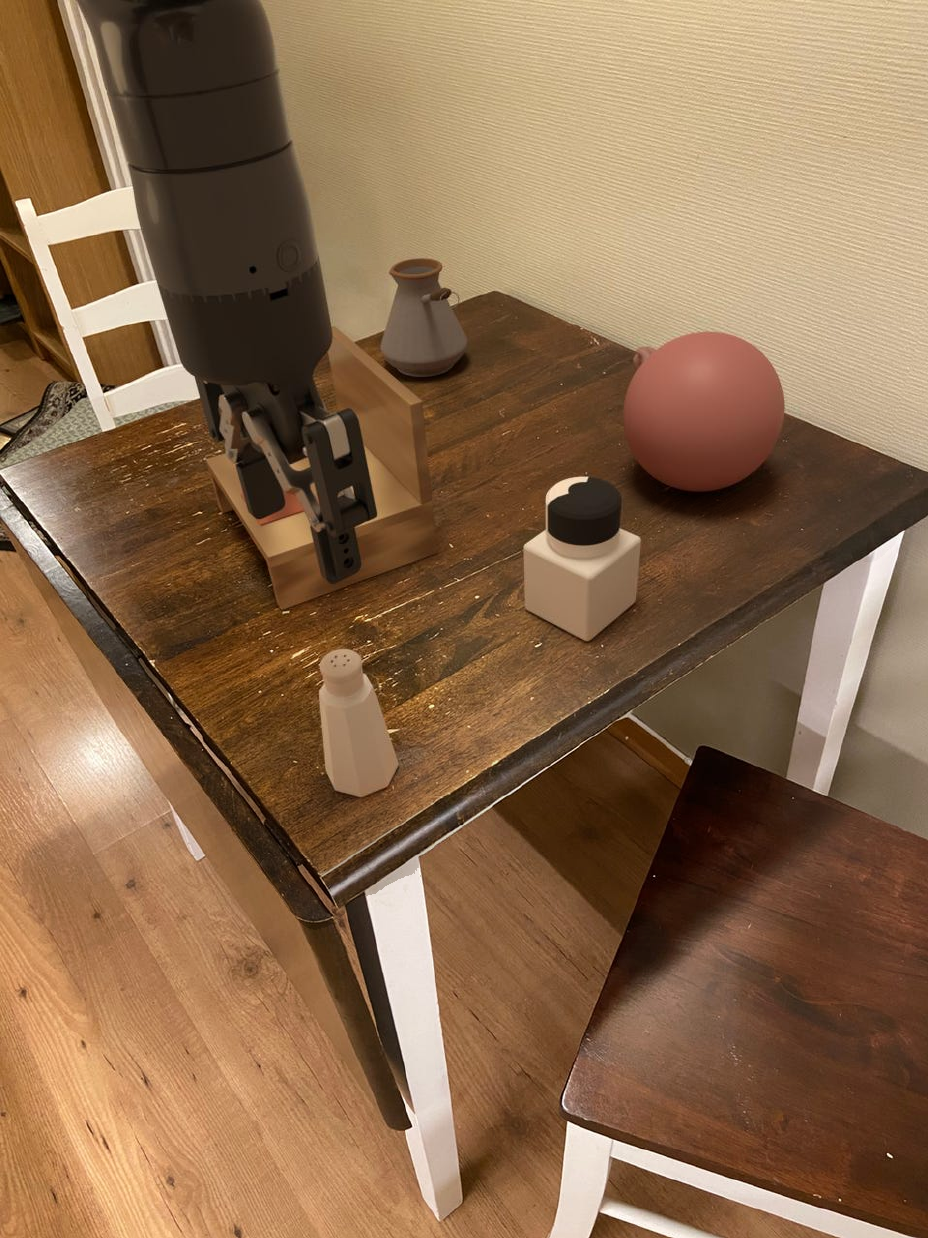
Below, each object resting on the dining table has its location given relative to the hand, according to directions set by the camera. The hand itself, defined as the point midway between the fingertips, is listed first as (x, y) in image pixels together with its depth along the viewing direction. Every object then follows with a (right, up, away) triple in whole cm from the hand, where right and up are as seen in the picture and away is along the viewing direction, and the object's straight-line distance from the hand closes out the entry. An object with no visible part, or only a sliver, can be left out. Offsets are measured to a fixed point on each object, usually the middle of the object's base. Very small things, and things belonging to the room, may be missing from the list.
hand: (303, 542), depth 51 cm
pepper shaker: (+2, -16, +14) cm, 21 cm away
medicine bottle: (+20, -3, +27) cm, 33 cm away
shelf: (-5, +5, +38) cm, 39 cm away
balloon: (+33, +11, +43) cm, 55 cm away
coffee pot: (+6, +26, +63) cm, 69 cm away
